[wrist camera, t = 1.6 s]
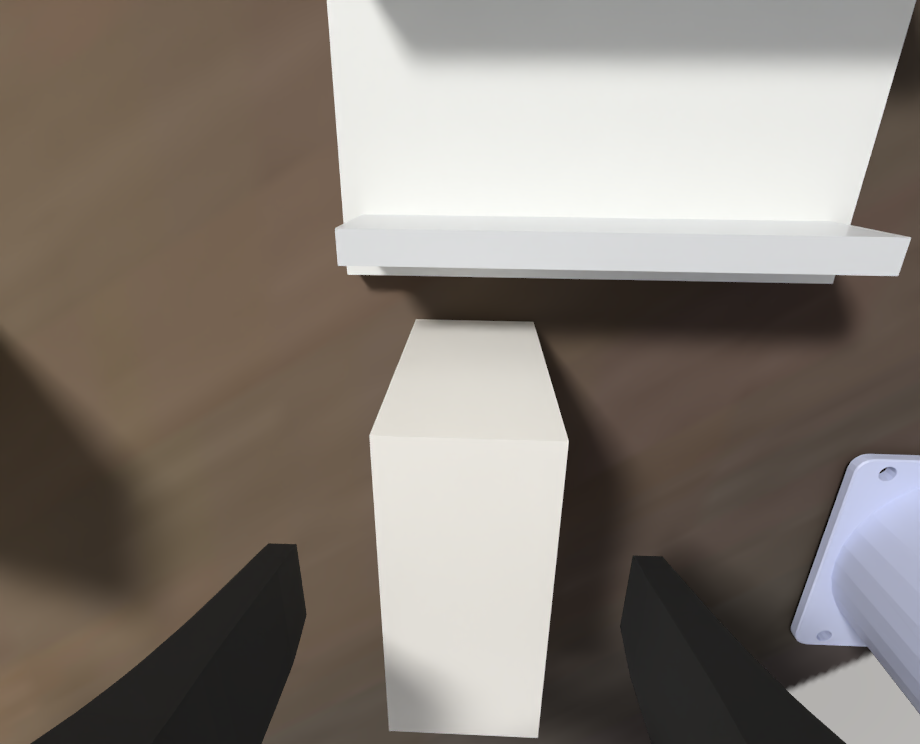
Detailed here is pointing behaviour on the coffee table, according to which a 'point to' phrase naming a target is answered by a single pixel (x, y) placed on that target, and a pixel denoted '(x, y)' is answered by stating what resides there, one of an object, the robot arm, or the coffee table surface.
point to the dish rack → (612, 137)
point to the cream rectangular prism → (468, 527)
